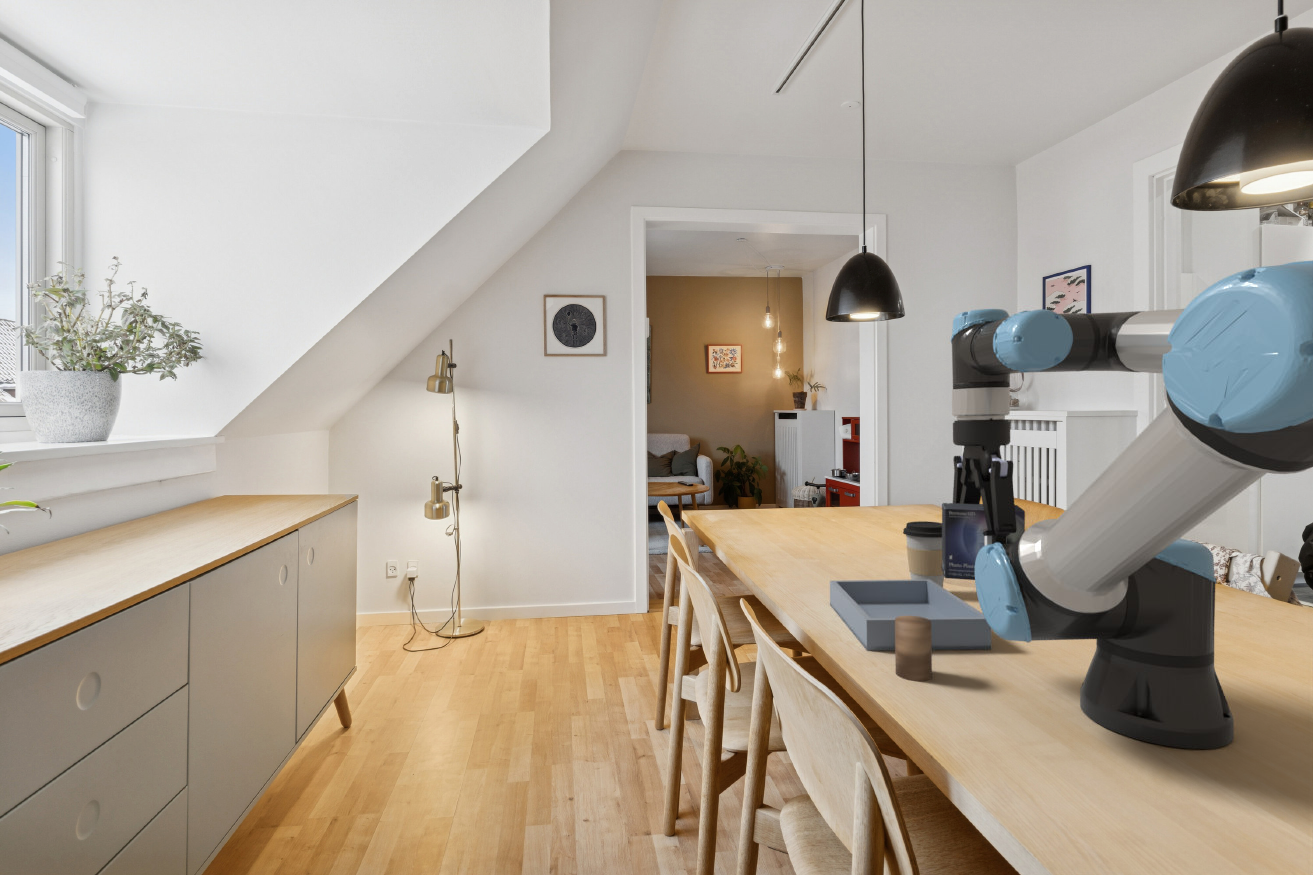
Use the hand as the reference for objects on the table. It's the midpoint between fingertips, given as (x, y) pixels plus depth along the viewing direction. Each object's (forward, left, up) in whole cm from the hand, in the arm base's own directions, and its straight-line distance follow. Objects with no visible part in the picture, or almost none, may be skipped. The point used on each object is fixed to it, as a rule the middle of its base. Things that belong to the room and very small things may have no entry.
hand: (982, 573), depth 97 cm
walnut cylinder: (0, +10, -15) cm, 18 cm away
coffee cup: (+43, -8, -15) cm, 46 cm away
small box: (0, 0, -1) cm, 1 cm away
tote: (+23, +4, -15) cm, 28 cm away
